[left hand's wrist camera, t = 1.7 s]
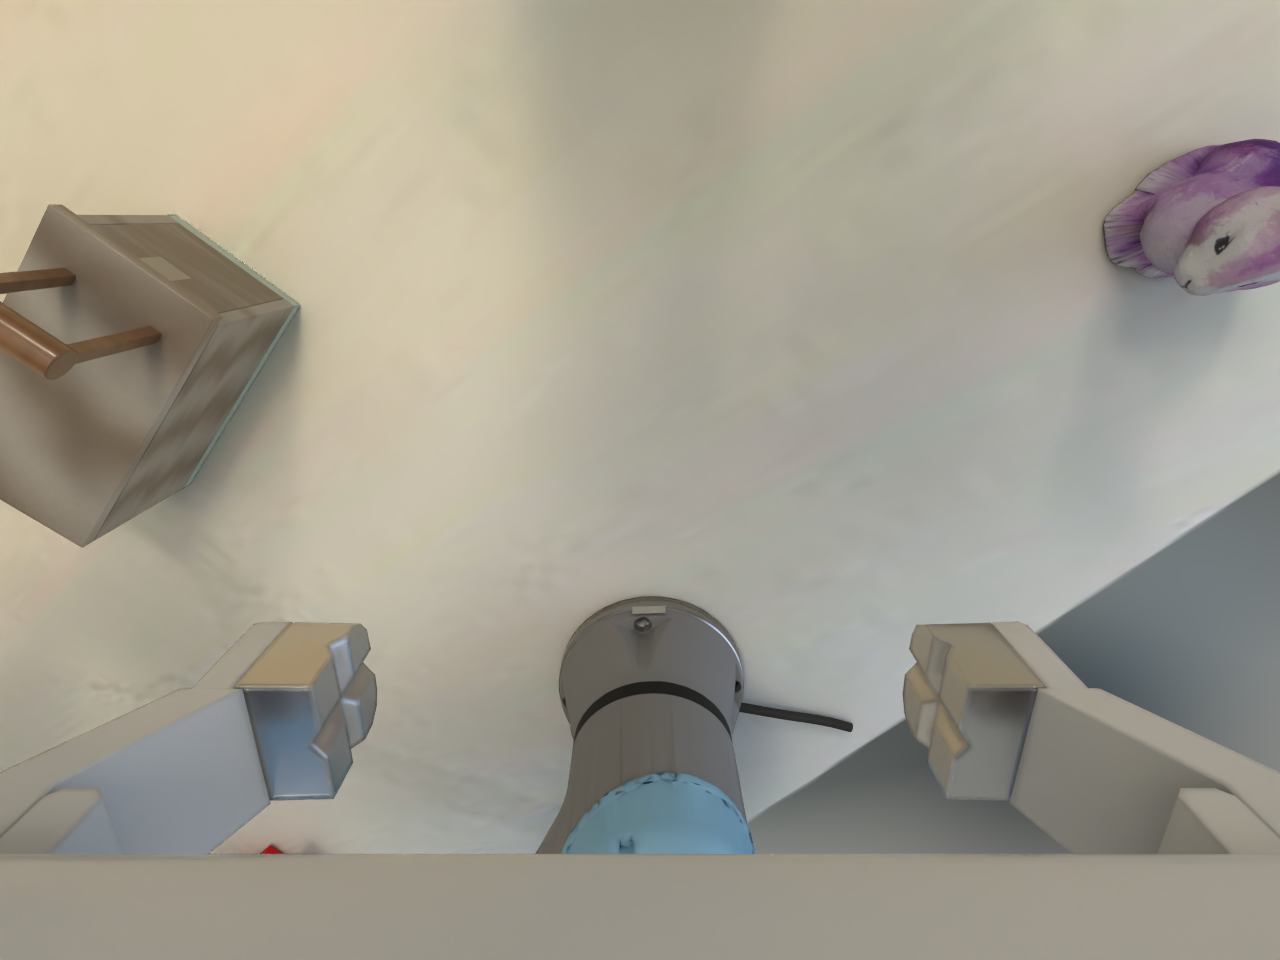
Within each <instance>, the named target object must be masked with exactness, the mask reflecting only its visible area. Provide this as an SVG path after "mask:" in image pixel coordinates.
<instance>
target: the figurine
mask: <svg viewBox="0 0 1280 960" xmlns="http://www.w3.org/2000/svg"><path fill="white" fill-rule="evenodd" d="M1104 227H1105V228H1104V230H1105V234H1106V235H1105V238H1106V240H1105V241H1106V242H1107V243H1106V246H1107V248H1106V249H1107V253H1108V255H1109V258H1110V259H1111V261H1112V262H1113V263H1114V264H1116V265H1118V266H1123V267H1134V268H1135V269H1136V270H1137V272H1138V273H1139V274H1140V275H1143V276H1145V277H1148V278H1157V277H1168V276H1174V277H1175V280H1176V281H1177V283H1178V284H1179V285H1180V286H1181V287H1182V288H1183V289H1184V290H1185V291H1187V292H1188V293H1190V294H1192V295H1210V294H1215V293H1220V292H1227V291H1234V290H1246V289H1254V288H1258V287H1263V286H1267V285H1271V284H1274V283H1277V282H1279V281H1280V143H1279V142H1276V141H1272V140H1265V139H1251V140H1245V141H1239V142H1234V143H1229V144H1224V145H1212V146H1206V147H1203V148H1200V149H1196V150H1194V151H1192V152H1189V153H1187V154H1185V155H1183V156H1181V157H1178V158H1176V159H1174V160H1172V161H1170V162H1168V163H1166V164H1164V165H1163V166H1161V167H1160V168H1158V169H1156V170H1154V171H1153V172H1152V173H1149V174H1148V175H1147V176H1146V178H1145V179H1144V180H1143V181H1142V182H1141V183H1140V185H1139V186H1138V187H1137V188H1136V190H1135V191H1134V192H1133V194H1132V195H1131V196H1129V197H1128V198H1127V199H1126V200H1124V201H1123V202H1121V203H1120V204H1119V205H1117V206H1116V207H1115V208H1114V209H1112V210H1111V212H1110V213H1109V214H1108V215H1107V216H1106V218H1105V224H1104Z"/></svg>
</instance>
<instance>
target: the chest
mask: <svg viewBox="0 0 1280 960" xmlns="http://www.w3.org/2000/svg"><path fill="white" fill-rule="evenodd" d="M77 216H79V217H80V218H82V219H83V220H84V221H86V222H87V223H89V224H90V225H92V226H93V227H94V228H96V229H97V230H99V231H100V232H102V233H103V234H104V235H106V236H107V237H109V238H110V239H112V240H113V241H115V242H116V243H117V244H119V245H120V246H122V247H123V248H125V249H126V250H127V251H129V252H130V253H132V254H133V255H135V256H136V257H137V258H139V259H140V260H142V261H143V262H145V263H146V264H148V265H149V266H150V267H152V268H153V269H155V270H156V271H158V272H159V273H160V274H162V275H163V276H165V277H166V278H168V279H169V280H170V281H172V282H173V283H175V284H176V285H178V286H179V287H181V288H182V289H183V290H185V291H186V292H188V293H189V294H191V295H192V296H193V297H195V298H196V299H198V300H199V301H201V302H202V303H204V304H205V305H206V306H208V307H209V308H211V309H212V310H214V311H215V312H216V313H218V314H219V315H221V316H222V319H221V321H220V322H219V324H218V326H217V328H216V329H215V331H214V333H213V335H212V336H211V338H210V340H209V341H208V343H207V345H206V347H205V348H204V350H203V352H202V354H201V355H200V357H199V359H198V361H197V362H196V364H195V366H194V367H193V369H192V371H191V373H190V374H189V376H188V378H187V380H186V381H185V383H184V385H183V386H182V388H181V390H180V392H179V393H178V395H177V397H176V399H175V400H174V402H173V404H172V405H171V407H170V409H169V411H168V412H167V414H166V416H165V418H164V419H163V421H162V423H161V424H160V426H159V428H158V430H157V431H156V433H155V435H154V437H153V438H152V440H151V442H150V444H149V445H148V447H147V449H146V450H145V452H144V454H143V456H142V457H141V459H140V461H139V463H138V464H137V466H136V468H135V469H134V471H133V473H132V475H131V476H130V478H129V480H128V482H127V483H126V485H125V487H124V488H123V490H122V492H121V494H120V495H119V497H118V499H117V501H116V502H115V504H114V506H113V507H112V509H111V511H110V513H109V514H108V516H107V518H106V520H105V521H104V523H103V525H102V527H101V528H100V530H99V532H98V533H97V535H96V537H95V539H94V540H96V539H98V538H100V537H101V536H103V535H105V534H106V533H108V532H110V531H111V530H113V529H115V528H116V527H118V526H120V525H121V524H123V523H125V522H127V521H128V520H130V519H132V518H133V517H135V516H137V515H138V514H140V513H142V512H143V511H145V510H147V509H148V508H150V507H152V506H154V505H155V504H157V503H159V502H160V501H162V500H164V499H165V498H167V497H169V496H170V495H172V494H174V493H175V492H177V491H179V490H181V489H182V488H185V487H186V486H188V485H190V484H191V482H192V480H193V479H194V477H195V476H196V474H197V472H198V471H199V469H200V467H201V466H202V464H203V462H204V461H205V459H206V458H207V456H208V454H209V453H210V451H211V449H212V448H213V446H214V445H215V443H216V441H217V440H218V438H219V436H220V435H221V433H222V431H223V430H224V428H225V427H226V425H227V423H228V422H229V420H230V418H231V417H232V415H233V414H234V412H235V410H236V409H237V407H238V405H239V404H240V402H241V401H242V399H243V397H244V396H245V394H246V392H247V391H248V389H249V387H250V386H251V384H252V383H253V381H254V379H255V378H256V376H257V374H258V373H259V371H260V370H261V368H262V366H263V365H264V363H265V361H266V360H267V358H268V356H269V355H270V353H271V352H272V350H273V348H274V347H275V345H276V343H277V342H278V340H279V339H280V337H281V335H282V334H283V332H284V330H285V329H286V327H287V325H288V324H289V322H290V321H291V319H292V317H293V316H294V314H295V312H296V311H297V309H298V308H299V306H300V304H299V303H297V302H296V301H295V300H293V299H292V298H291V297H289V296H288V295H286V294H285V293H284V292H282V291H281V290H279V289H278V288H277V287H275V286H274V285H272V284H271V283H270V282H268V281H267V280H266V279H264V278H263V277H261V276H260V275H259V274H257V273H256V272H254V271H253V270H252V269H250V268H249V267H247V266H246V265H245V264H243V263H242V262H241V261H239V260H238V259H236V258H235V257H234V256H232V255H231V254H229V253H228V252H227V251H225V250H224V249H222V248H221V247H220V246H218V245H217V244H216V243H214V242H213V241H211V240H210V239H209V238H207V237H206V236H204V235H203V234H202V233H200V232H199V231H198V230H196V229H195V228H193V227H192V226H191V225H189V224H188V223H186V222H185V221H184V220H182V219H181V218H179V217H178V216H177V215H77ZM94 540H93V541H94Z"/></svg>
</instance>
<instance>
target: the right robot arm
mask: <svg viewBox="0 0 1280 960" xmlns="http://www.w3.org/2000/svg"><path fill="white" fill-rule="evenodd" d="M743 691H744V677H743V671H742V666H741V662H740V658H739V654H738V651H737V648H736V646H735V644H734V642H733V640H732V638H731V636H730V635H729V633H728V632H727V631H726V630H725V628H724V627H723V626H722V625H721V624H720V623H719V622H718V621H717V620H716V619H714V618H713V617H712V616H711V615H709V614H708V613H706V612H705V611H703V610H701V609H699V608H697V607H695V606H693V605H691V604H688V603H685V602H682V601H679V600H674V599H670V598H662V597H641V598H634V599H629V600H624V601H621V602H618V603H615V604H612V605H610V606H608V607H606V608H604V609H602V610H600V611H598V612H597V613H595V614H594V615H592V616H591V617H590V618H589V619H587V620H586V621H585V622H584V623H583V624H582V625H581V626H580V627H579V628H578V629H577V631H576V632H575V633H574V635H573V636H572V638H571V639H570V641H569V643H568V645H567V647H566V650H565V652H564V655H563V660H562V665H561V670H560V677H559V693H560V699H561V703H562V706H563V710H564V712H565V715H566V717H567V720H568V722H569V723H570V725H571V733H572V736H573V739H574V743H573V752H572V759H571V767H570V774H569V782H568V789H567V793H566V796H565V800H564V802H563V805H562V808H561V810H560V812H559V814H558V816H557V818H556V819H555V821H554V823H553V825H552V826H551V828H550V830H549V831H548V833H547V835H546V837H545V838H544V840H543V842H542V844H541V845H540V847H539V849H538V851H537V852H536V854H755V849H754V846H753V841H752V837H751V833H750V830H749V828H748V826H747V820H746V815H745V810H744V804H743V799H742V793H741V788H740V782H739V776H738V771H737V765H736V760H735V754H734V749H733V744H732V738H731V737H732V734H733V730H734V727H735V723H736V720H737V717H738V713H739V712H744V713H750V714H755V715H761V716H767V717H773V718H778V719H785V720H791V721H798V722H805V723H812V724H818V725H823V726H828V727H832V728H836V729H840V730H844V731H848V732H851V731H852V729H853V724H852V723H849V722H845V721H841V720H837V719H833V718H829V717H824V716H819V715H813V714H807V713H800V712H793V711H786V710H780V709H775V708H769V707H763V706H757V705H752V704H746V703H741V702H742V697H743Z"/></svg>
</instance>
